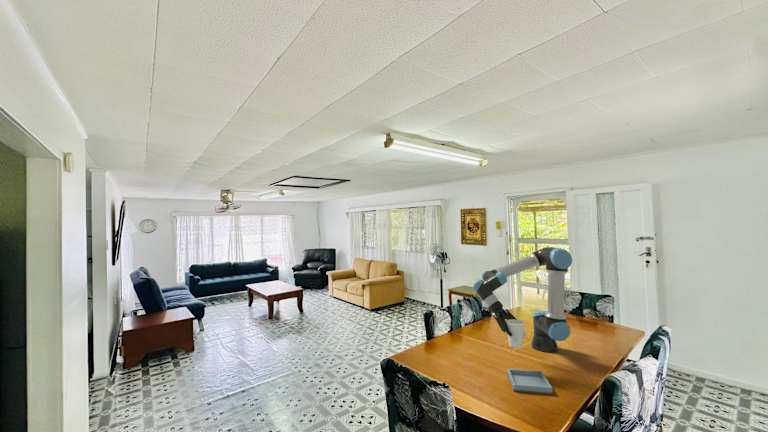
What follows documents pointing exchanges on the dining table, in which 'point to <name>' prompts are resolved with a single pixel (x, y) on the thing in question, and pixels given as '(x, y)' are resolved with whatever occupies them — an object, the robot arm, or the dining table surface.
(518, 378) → the tray
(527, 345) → the dining table surface
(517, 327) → the foam cup
